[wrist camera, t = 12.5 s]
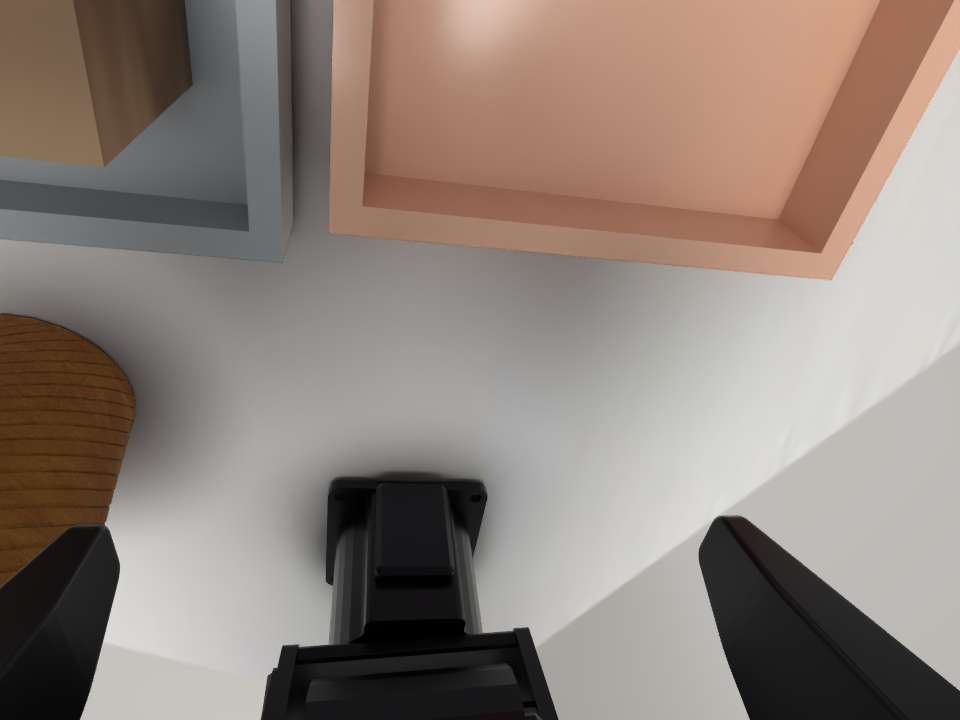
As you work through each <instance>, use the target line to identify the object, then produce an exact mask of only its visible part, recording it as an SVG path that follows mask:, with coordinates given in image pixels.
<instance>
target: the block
mask: <svg viewBox="0 0 960 720" xmlns="http://www.w3.org/2000/svg"><path fill="white" fill-rule="evenodd" d="M192 85H193V81H192V71H191V60H190V50H189V39H188V29H187V19H186V8H185V0H0V156H5V157H14V158H23V159H32V160H41V161H50V162H59V163H68V164H77V165H86V166H95V167H105V166H106V165H107V164H109V163H110V162H111V161H112V160H113V159H114V158H115V157H116V156H117V155H118V154H119V153H120V152H121V151H122V150H123V149H125V148H126V147H127V146H128V145H129V144H130V143H131V142H132V141H133V140H134V139H135V138H136V137H137V136H138V135H140V134H141V133H142V132H143V131H144V130H145V129H146V128H147V127H148V126H149V125H150V124H151V123H152V122H153V121H154V120H156V119H157V118H158V117H159V116H160V115H161V114H162V113H163V112H164V111H165V110H166V109H167V108H168V107H169V106H171V105H172V104H173V103H174V102H175V101H176V100H177V99H178V98H179V97H180V96H181V95H182V94H183V93H184V92H185V91H187V90H188V89H189V88H190V87H191V86H192Z"/></svg>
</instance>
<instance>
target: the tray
mask: <svg viewBox="0 0 960 720" xmlns="http://www.w3.org/2000/svg"><path fill="white" fill-rule="evenodd" d="M185 8H186V19H187V29H188V39H189V50H190V60H191V71H192V81H193V85H192V86H191V87H190V88H189V89H188V90H187V91H185V92H184V93H183V94H182V95H181V96H180V97H179V98H178V99H177V100H176V101H175V102H174V103H173V104H172V105H171V106H169V107H168V108H167V109H166V110H165V111H164V112H163V113H162V114H161V115H160V116H159V117H158V118H157V119H156V120H154V121H153V122H152V123H151V124H150V125H149V126H148V127H147V128H146V129H145V130H144V131H143V132H142V133H141V134H140V135H138V136H137V137H136V138H135V139H134V140H133V141H132V142H131V143H130V144H129V145H128V146H127V147H126V148H125V149H123V150H122V151H121V152H120V153H119V154H118V155H117V156H116V157H115V158H114V159H113V160H112V161H111V162H110V163H109V164H107V165H106V166H105V167H95V166H86V165H77V164H68V163H59V162H50V161H41V160H32V159H23V158H14V157H5V156H0V239H5V240H17V241H29V242H41V243H53V244H65V245H77V246H89V247H102V248H114V249H126V250H138V251H150V252H162V253H174V254H186V255H198V256H210V257H222V258H234V259H246V260H258V261H270V262H282V263H283V259H284V256H285V252H286V249H287V245H288V242H289V238H290V234H291V231H292V227H293V152H292V81H291V10H290V0H185Z"/></svg>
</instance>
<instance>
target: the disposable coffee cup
mask: <svg viewBox="0 0 960 720" xmlns="http://www.w3.org/2000/svg"><path fill="white" fill-rule="evenodd" d="M134 418H135V398H134V394H133V390H132V388H131V386H130V384H129V382H128V380H127V378H126V376H125V375H124V373H123V372H122V371H121V370H120V368H119V367H118V366H117V365H116V363H115V362H114V361H113V360H112V359H111V358H110V357H108V356H107V355H106V354H105V353H104V352H103V351H102V350H101V349H99V348H98V347H96V346H95V345H93V344H92V343H90V342H89V341H87V340H86V339H84V338H83V337H81V336H79V335H77V334H75V333H73V332H71V331H69V330H66V329H64V328H62V327H60V326H57V325H53V324H50V323H47V322H43V321H40V320H37V319H33V318H27V317H21V316H15V315H4V314H0V586H2V585H3V584H4V583H5V582H6V581H7V580H8V579H10V578H11V577H12V576H13V575H14V574H15V573H17V572H18V571H19V570H20V569H21V568H22V567H23V566H25V565H26V564H27V563H28V562H29V561H30V560H32V559H33V558H34V557H35V556H36V555H37V554H39V553H40V552H41V551H42V550H43V549H44V548H45V547H47V546H48V545H49V544H50V543H51V542H52V541H54V540H55V539H56V538H57V537H58V536H59V535H60V534H62V533H63V532H64V531H65V530H66V529H68V528H70V527H71V526H74V525H88V524H101V525H105V523H104V522H106V519H107V515H108V511H109V506H108V505H109V504H111V501H112V497H113V493H114V491H113V490H114V489H115V486H116V482H117V478H118V475H117V474H119V472H120V468H121V464H122V461H121V460H123V457H124V453H125V449H126V447H124V446H127V443H128V439H129V434H128V433H130V431H131V428H132V425H133V422H134Z"/></svg>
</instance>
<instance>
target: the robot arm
mask: <svg viewBox="0 0 960 720" xmlns="http://www.w3.org/2000/svg"><path fill="white" fill-rule="evenodd" d="M339 492H343V493H339ZM473 494H477V495H473ZM486 502H487V491H486V487H485V486H484V485H483V484H481V483H469V482H408V481H348V480H341V481H336V482H333V483H332V484H331V485H330V486H329V491H328V516H327V551H326V582H327V583H328V584H330V585H332V586H333V595H332V609H331V622H330V636H329V645H320V646H307V647H299V644H297V645H283V646H282V650H281V654H280V659H279V663H278V668H273V671H272V673H271V674H270V675H268V677H267V684H266V691H265V697H264V704H263V711H262V716H261V720H558V717H557V714H556V711H555V708H554V704H553V701H552V698H551V695H550V692H549V689H548V686H547V683H546V680H545V677H544V674H543V671H542V667H541V665H540V661H539V658H538V655H537V652H536V649H535V646H534V643H533V640H532V637H531V634H530V630H529V628H528V627H525V628H514V629H513V631H507V632H493V633H483V632H482V624H481V617H480V610H479V603H478V595H477V588H476V581H475V574H474V566H473V559H472V558H473V554H474V550H475V546H476V542H477V538H478V534H479V530H480V526H481V522H482V518H483V514H484V510H485V506H486ZM699 563H700V567H701V571H702V574H703V578H704V582H705V585H706V589H707V592H708V596H709V599H710V603H711V607H712V611H713V614H714V618H715V621H716V625H717V629H718V632H719V636H720V639H721V643H722V646H723V649H724V652H725V655H726V658H727V661H728V664H729V667H730V669H731V672H732V674H733V677H734V679H735V682H736V685H737V687H738V690H739V693H740V695H741V698H742V700H743V703H744V706H745V708H746V711H747V713H748V716H749V718H750V720H960V691H959V690H958V689H957V688H956V687H954V686H953V685H952V684H951V683H949V682H948V681H947V680H946V679H944V678H943V677H942V676H941V675H939V674H938V673H937V672H936V671H935V670H933V669H932V668H931V667H930V666H928V665H927V664H926V663H925V662H923V661H922V660H921V659H920V658H918V657H917V656H916V655H915V654H913V653H912V652H911V651H910V650H909V649H907V648H906V647H905V646H904V645H902V644H901V643H900V642H899V641H897V640H896V639H895V638H894V637H892V636H891V635H890V634H889V633H887V632H886V631H885V630H884V629H882V628H881V627H880V626H879V625H878V624H876V623H875V622H874V621H873V620H871V619H870V618H869V617H868V616H866V615H865V614H864V613H863V612H861V611H860V610H859V609H858V608H856V607H855V606H854V605H852V603H850V602H849V601H848V600H846V599H845V598H844V597H843V596H842V595H840V594H839V593H838V592H837V591H835V590H834V589H833V588H832V587H830V586H829V585H828V584H827V583H826V582H824V581H823V580H822V579H821V578H819V577H818V576H817V575H816V574H814V573H813V572H812V571H810V570H809V569H808V568H807V567H806V566H804V565H803V564H802V563H801V562H799V561H798V560H797V559H796V558H795V557H793V556H792V555H791V554H790V553H788V552H787V551H786V550H784V549H783V548H782V547H781V546H780V545H778V544H777V543H776V542H775V541H773V540H772V539H771V538H770V537H768V536H767V535H766V534H765V533H764V532H762V531H761V530H760V529H759V528H757V527H756V526H755V525H754V524H752V523H751V522H750V521H749V520H747V519H746V518H744V517H742V516H737V515H734V516H718V517H717V518H715V519H714V521H713V522H712V524H711V526H710V528H709V530H708V532H707V534H706V536H705V538H704V540H703V542H702V543H701V546H700V548H699ZM119 574H120V563H119V559H118V556H117V552H116V549H115V546H114V543H113V540H112V537H111V534H110V531H109V529H108V528H107V527H106V526H105V525H101V524H88V525H74V526H71V527H70V528H68V529H66V530H65V531H64V532H63V533H62V534H60V535H59V536H58V537H57V538H56V539H55V540H54V541H52V542H51V543H50V544H49V545H48V546H47V547H45V548H44V549H43V550H42V551H41V552H40V553H39V554H37V555H36V556H35V557H34V558H33V559H32V560H30V561H29V562H28V563H27V564H26V565H25V566H23V567H22V568H21V569H20V570H19V571H18V572H17V573H15V574H14V575H13V576H12V577H11V578H10V579H8V580H7V581H6V582H5V583H4V584H3V585H2V586H0V720H80V718H81V715H82V713H83V710H84V707H85V704H86V701H87V698H88V696H89V693H90V689H91V686H92V682H93V679H94V675H95V671H96V667H97V663H98V659H99V655H100V651H101V647H102V644H103V640H104V636H105V632H106V628H107V624H108V620H109V616H110V612H111V608H112V604H113V600H114V596H115V592H116V588H117V584H118V580H119Z"/></svg>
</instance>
